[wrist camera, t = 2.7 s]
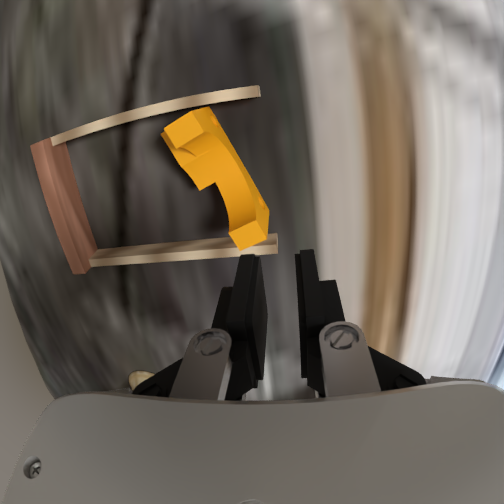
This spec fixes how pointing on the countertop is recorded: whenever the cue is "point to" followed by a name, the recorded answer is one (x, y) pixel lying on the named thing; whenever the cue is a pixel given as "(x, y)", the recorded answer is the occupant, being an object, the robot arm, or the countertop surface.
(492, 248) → the countertop surface
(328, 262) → the countertop surface
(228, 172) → the pipe clamp
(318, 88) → the countertop surface
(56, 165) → the guide channel
